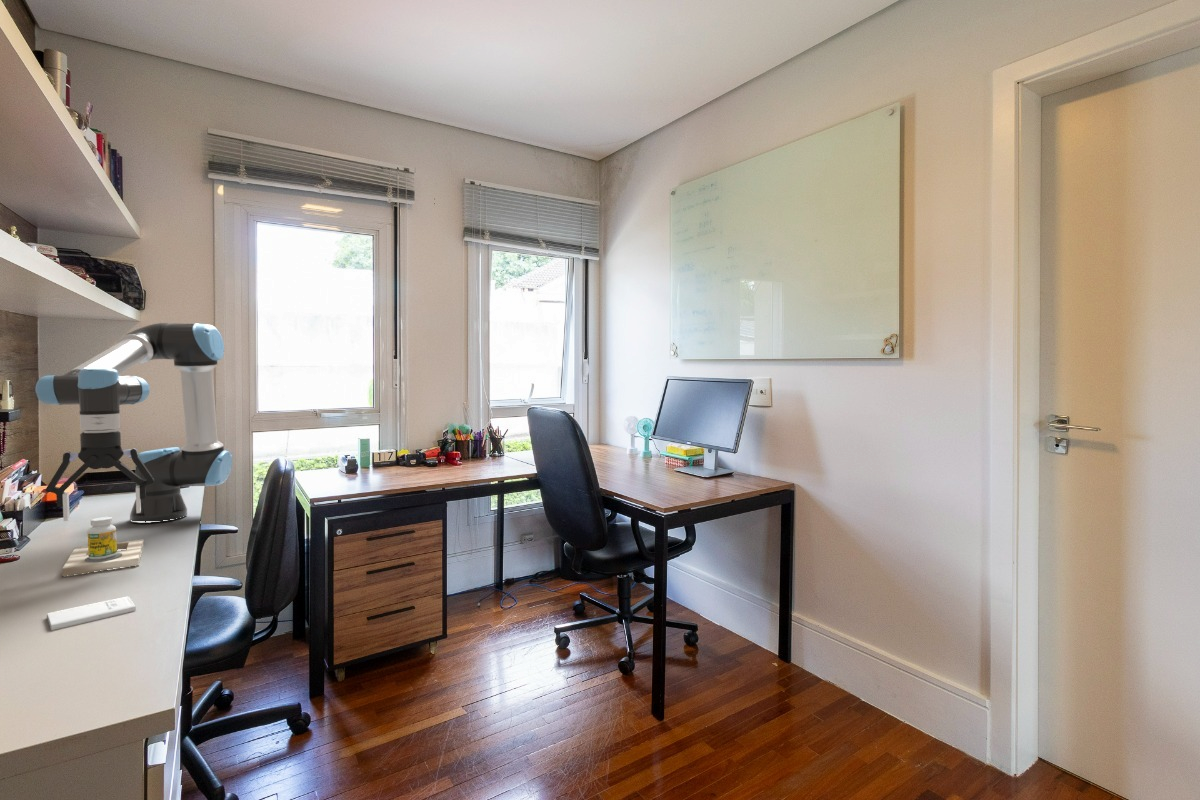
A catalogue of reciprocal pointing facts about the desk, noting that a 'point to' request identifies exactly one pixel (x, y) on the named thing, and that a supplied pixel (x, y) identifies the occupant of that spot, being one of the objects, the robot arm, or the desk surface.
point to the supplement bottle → (102, 539)
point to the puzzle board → (123, 558)
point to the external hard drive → (90, 612)
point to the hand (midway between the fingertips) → (103, 515)
